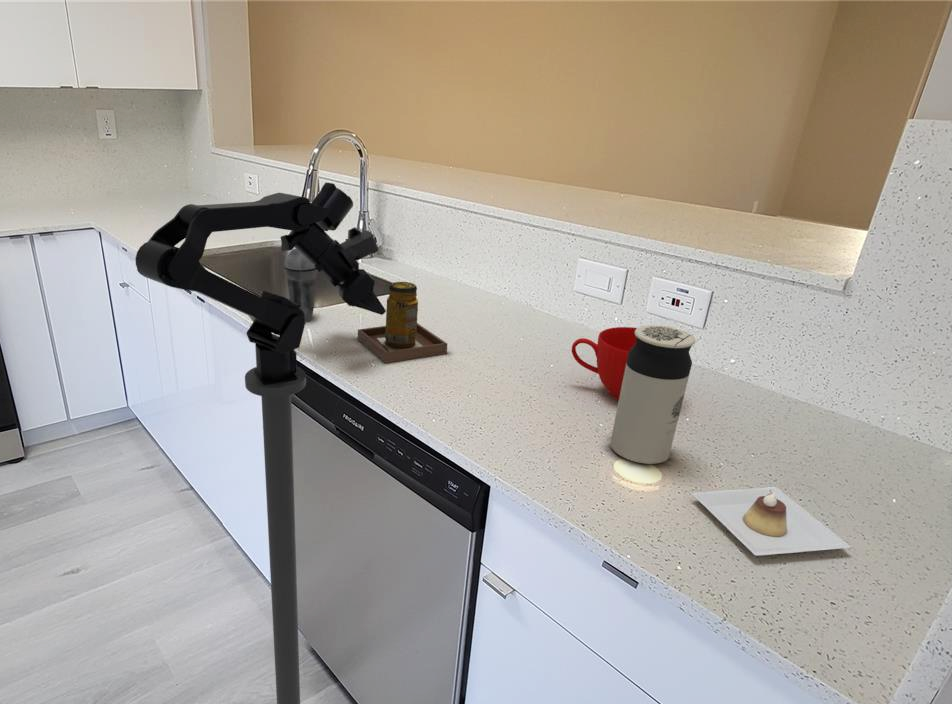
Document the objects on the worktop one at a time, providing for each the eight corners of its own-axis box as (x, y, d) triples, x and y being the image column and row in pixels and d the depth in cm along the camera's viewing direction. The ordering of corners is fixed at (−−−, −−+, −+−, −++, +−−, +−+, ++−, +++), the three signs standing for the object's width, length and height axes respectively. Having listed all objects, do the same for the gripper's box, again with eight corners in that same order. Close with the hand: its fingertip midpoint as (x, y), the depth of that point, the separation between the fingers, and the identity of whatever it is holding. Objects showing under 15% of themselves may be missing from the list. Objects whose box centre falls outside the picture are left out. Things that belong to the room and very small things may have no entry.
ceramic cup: (569, 370, 119) (577, 319, 115) (668, 386, 114) (680, 333, 109) (562, 399, 108) (570, 344, 104) (671, 419, 102) (685, 361, 98)
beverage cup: (325, 317, 143) (325, 226, 135) (305, 326, 137) (303, 232, 129) (299, 310, 146) (297, 222, 138) (278, 319, 141) (275, 227, 133)
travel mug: (598, 447, 94) (621, 331, 87) (629, 431, 98) (653, 320, 91) (649, 472, 88) (677, 350, 81) (679, 454, 93) (709, 337, 85)
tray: (385, 363, 120) (385, 352, 119) (357, 339, 131) (357, 329, 130) (446, 353, 125) (447, 343, 124) (414, 331, 136) (415, 321, 135)
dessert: (773, 493, 84) (784, 462, 82) (848, 555, 73) (862, 520, 71) (688, 499, 82) (697, 467, 80) (752, 563, 72) (764, 528, 70)
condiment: (410, 335, 132) (413, 278, 127) (426, 351, 125) (430, 291, 120) (376, 339, 130) (378, 281, 125) (391, 355, 122) (393, 294, 117)
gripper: (363, 227, 107) (423, 289, 114) (341, 207, 123) (394, 262, 130) (317, 276, 108) (378, 333, 115) (301, 249, 125) (355, 301, 132)
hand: (377, 305), depth 123 cm, fingers open, 9 cm apart
